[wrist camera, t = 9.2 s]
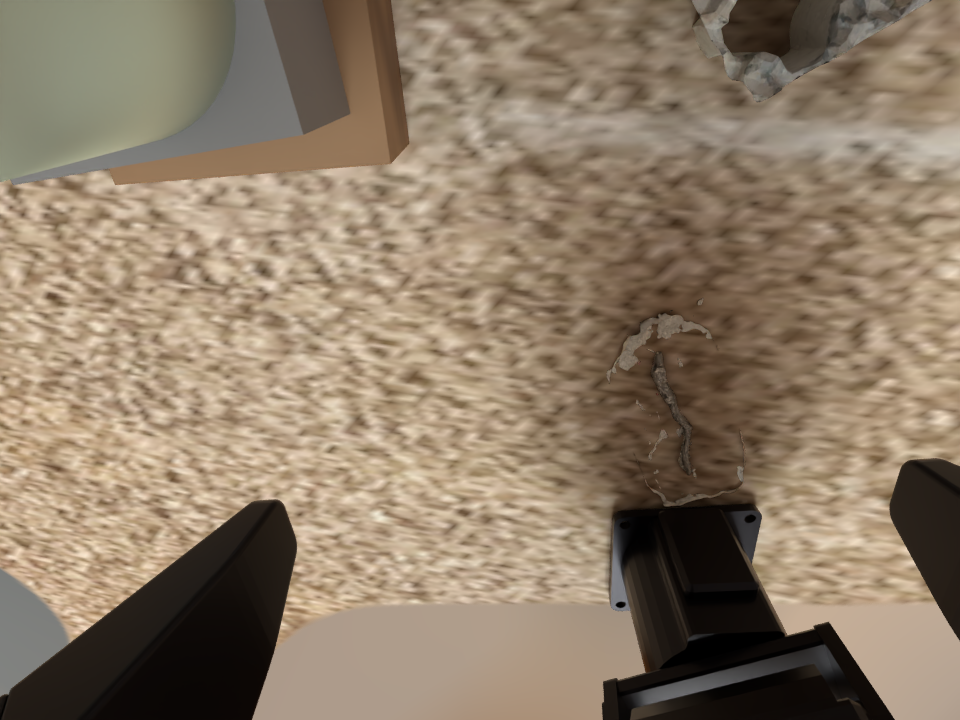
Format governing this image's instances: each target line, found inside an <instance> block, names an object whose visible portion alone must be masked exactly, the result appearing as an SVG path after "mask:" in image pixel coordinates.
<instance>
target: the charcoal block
mask: <svg viewBox="0 0 960 720" xmlns="http://www.w3.org/2000/svg"><path fill="white" fill-rule="evenodd" d="M234 1H235V12H236V33H235V43H234V52H233V56H232V60H231V64H230V68H229V72H228V74H227V77H226V79H225V82H224V84H223V87H222V89H221V90H220V92H219V94H218V95H217V97H216V99H215V101H214V102H213V103H212V105H211V106H210V107H209V108H208V109H207V111H206V112H205V113H204V114H203V115H202V116H201V117H200V118H199V119H198V120H196V121H195V122H194V123H193V124H192V125H191V126H189V127H187V128H186V129H184V130H182V131H181V132H179V133H177V134H175V135H172V136H170V137H167V138H165V139H162V140H158V141H154V142H150V143H147V144H143V145H139V146H135V147H132V148H128V149H124V150H120V151H116V152H113V153H109V154H105V155H101V156H97V157H94V158H90V159H86V160H82V161H79V162H75V163H71V164H67V165H63V166H60V167H56V168H52V169H48V170H44V171H41V172H37V173H33V174H29V175H25V176H22V177H18V178H14V179H10V180H11V182H12V184H13V185H17V184H22V183H28V182H34V181H40V180H45V179H51V178H57V177H63V176H69V175H74V174H80V173H86V172H92V171H98V170H103V169H109V168H115V167H121V166H126V165H132V164H138V163H144V162H150V161H155V160H161V159H167V158H173V157H179V156H184V155H190V154H196V153H202V152H207V151H213V150H219V149H225V148H231V147H236V146H242V145H248V144H254V143H260V142H265V141H271V140H277V139H283V138H288V137H294V136H300V135H304V134H307V133H309V132H311V131H313V130H316V129H318V128H320V127H322V126H325V125H327V124H329V123H331V122H334V121H336V120H338V119H340V118H343V117H345V116H347V115H349V114H350V110H349V106H348V102H347V98H346V94H345V90H344V86H343V82H342V78H341V74H340V70H339V66H338V62H337V58H336V54H335V50H334V46H333V42H332V38H331V34H330V30H329V26H328V22H327V18H326V14H325V10H324V6H323V2H322V0H234Z"/></svg>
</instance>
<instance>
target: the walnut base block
mask: <svg viewBox="0 0 960 720" xmlns="http://www.w3.org/2000/svg"><path fill="white" fill-rule="evenodd" d="M322 2H323V6H324V10H325V14H326V18H327V22H328V26H329V30H330V34H331V38H332V42H333V46H334V50H335V54H336V58H337V62H338V66H339V70H340V74H341V78H342V82H343V86H344V90H345V94H346V98H347V102H348V106H349V110H350V114H349V115H347V116H345V117H343V118H340V119H338V120H336V121H334V122H331V123H329V124H327V125H325V126H322V127H320V128H318V129H316V130H313V131H311V132H309V133H307V134H304V135H300V136H294V137H288V138H283V139H277V140H271V141H265V142H260V143H254V144H248V145H242V146H236V147H231V148H225V149H219V150H213V151H207V152H202V153H196V154H190V155H184V156H179V157H173V158H167V159H161V160H155V161H150V162H144V163H138V164H132V165H126V166H121V167H115V168H109V171H110V173H111V176H112V178H113V181H114V183H115V185H122V184H135V183H148V182H161V181H174V180H187V179H200V178H213V177H226V176H239V175H252V174H265V173H278V172H291V171H304V170H317V169H330V168H343V167H356V166H369V165H382V164H391V163H392V162H393V161H394V160H395V159H396V157H397V156H398V155H399V154H400V153H401V152H402V151H403V150H404V149H405V148H406V147H407V145H408V144H409V138H408V130H407V122H406V115H405V107H404V99H403V92H402V84H401V76H400V69H399V61H398V53H397V46H396V38H395V30H394V23H393V15H392V7H391V0H322Z"/></svg>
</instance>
